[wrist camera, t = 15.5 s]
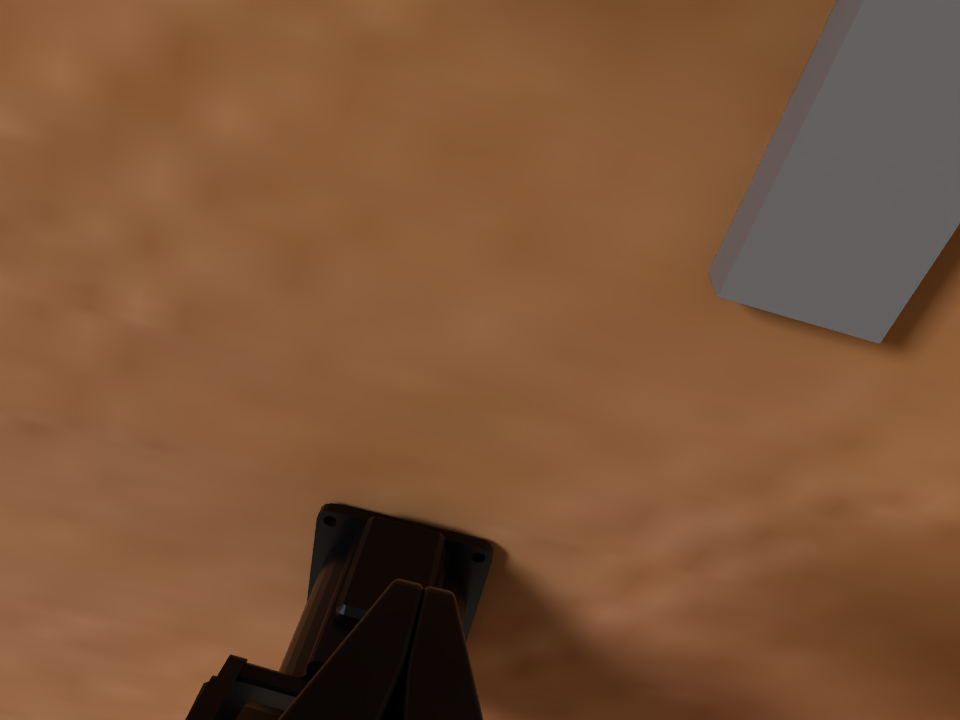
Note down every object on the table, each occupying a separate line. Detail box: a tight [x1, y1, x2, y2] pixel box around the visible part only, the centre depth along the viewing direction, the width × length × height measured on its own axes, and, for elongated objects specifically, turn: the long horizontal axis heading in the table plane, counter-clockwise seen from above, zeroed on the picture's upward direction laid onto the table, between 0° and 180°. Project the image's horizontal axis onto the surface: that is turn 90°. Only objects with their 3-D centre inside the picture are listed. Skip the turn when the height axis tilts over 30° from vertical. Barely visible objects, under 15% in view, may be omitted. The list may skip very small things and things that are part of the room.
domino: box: [708, 0, 960, 344], centre depth 17 cm, size 2×4×8 cm
